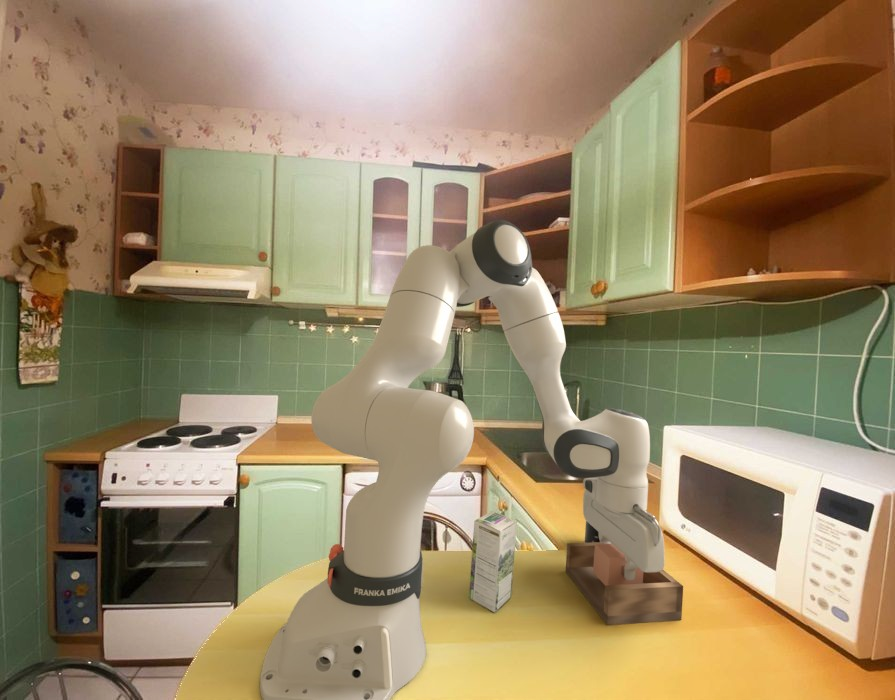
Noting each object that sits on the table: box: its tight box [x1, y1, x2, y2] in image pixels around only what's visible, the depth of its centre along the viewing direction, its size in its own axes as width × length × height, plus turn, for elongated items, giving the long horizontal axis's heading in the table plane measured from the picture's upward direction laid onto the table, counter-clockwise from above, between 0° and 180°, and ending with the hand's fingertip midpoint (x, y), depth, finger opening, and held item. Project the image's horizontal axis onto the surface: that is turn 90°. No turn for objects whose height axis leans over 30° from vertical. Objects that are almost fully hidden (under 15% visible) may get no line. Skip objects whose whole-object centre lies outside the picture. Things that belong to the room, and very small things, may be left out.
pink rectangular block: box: [593, 544, 644, 586], centre depth 71 cm, size 7×5×6 cm
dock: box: [565, 542, 684, 626], centre depth 71 cm, size 14×15×6 cm
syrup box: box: [468, 511, 517, 613], centre depth 68 cm, size 6×6×14 cm
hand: (617, 567), depth 71 cm, fingers closed on pink rectangular block, 5 cm apart
